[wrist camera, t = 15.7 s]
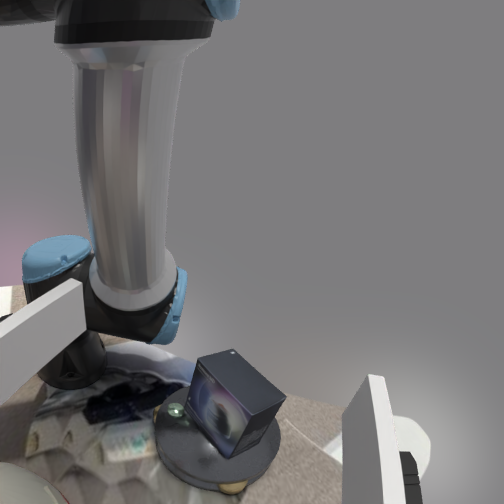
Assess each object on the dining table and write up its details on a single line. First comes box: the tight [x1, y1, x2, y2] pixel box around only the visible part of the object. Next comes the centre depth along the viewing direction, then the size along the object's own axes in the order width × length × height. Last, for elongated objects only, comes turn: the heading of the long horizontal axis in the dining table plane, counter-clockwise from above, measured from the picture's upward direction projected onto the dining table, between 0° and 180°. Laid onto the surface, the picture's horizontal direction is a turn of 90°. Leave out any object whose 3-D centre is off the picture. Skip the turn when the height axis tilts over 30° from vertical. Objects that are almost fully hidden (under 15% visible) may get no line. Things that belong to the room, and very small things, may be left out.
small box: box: [184, 349, 287, 459], centre depth 34 cm, size 11×6×10 cm, turn 42°
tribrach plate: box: [153, 386, 281, 494], centre depth 36 cm, size 19×18×5 cm
